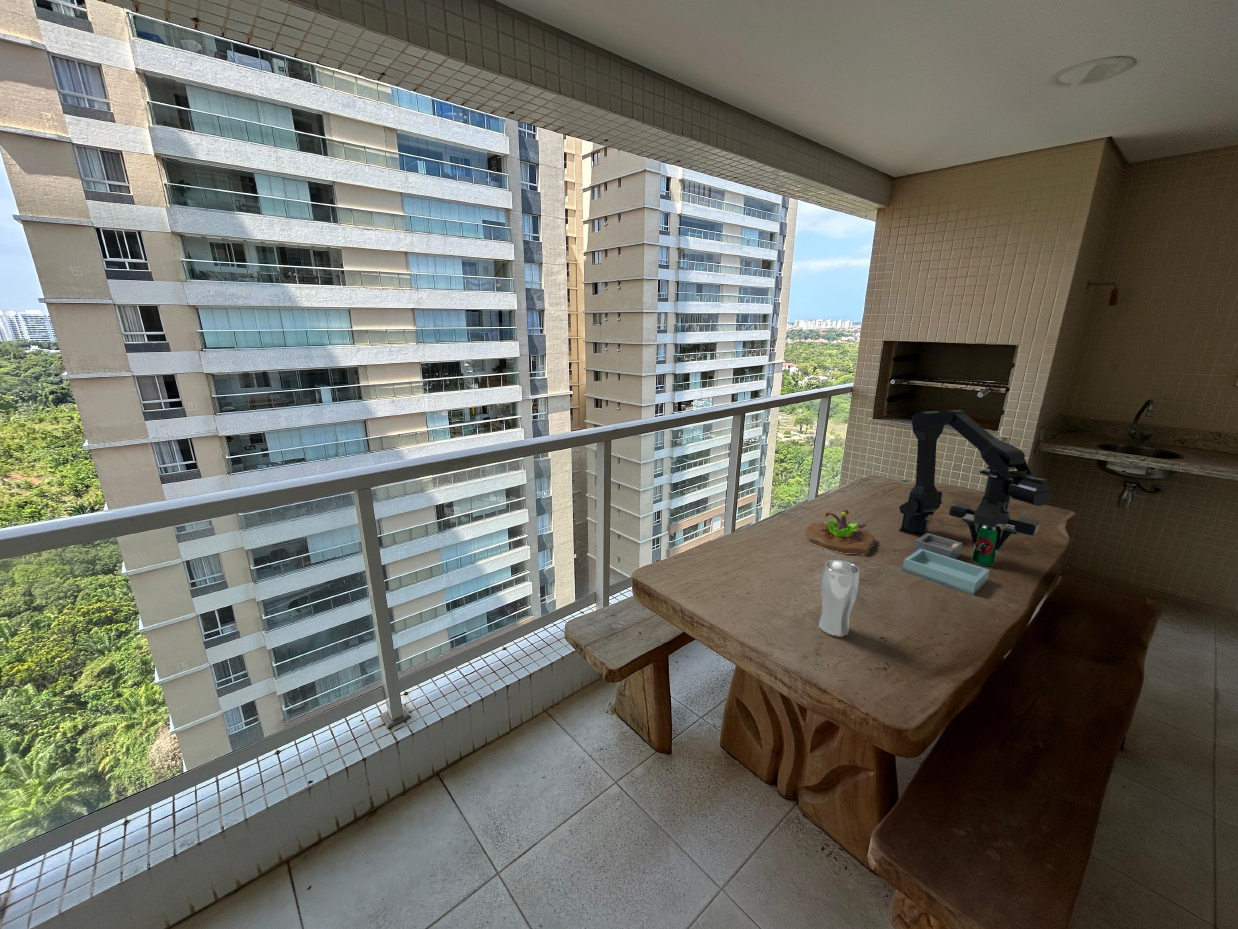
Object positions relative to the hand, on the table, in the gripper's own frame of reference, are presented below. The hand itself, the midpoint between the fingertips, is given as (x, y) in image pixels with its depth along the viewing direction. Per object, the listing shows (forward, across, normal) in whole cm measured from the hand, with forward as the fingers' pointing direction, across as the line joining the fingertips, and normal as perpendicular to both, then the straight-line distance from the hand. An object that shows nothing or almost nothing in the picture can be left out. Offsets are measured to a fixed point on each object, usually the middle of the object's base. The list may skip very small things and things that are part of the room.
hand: (985, 546), depth 127 cm
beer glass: (+5, -10, -63) cm, 64 cm away
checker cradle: (+5, -10, -4) cm, 12 cm away
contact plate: (+5, -10, -4) cm, 12 cm away
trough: (+5, -4, -17) cm, 18 cm away
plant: (+6, -32, -17) cm, 37 cm away
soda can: (+5, 0, 0) cm, 5 cm away
